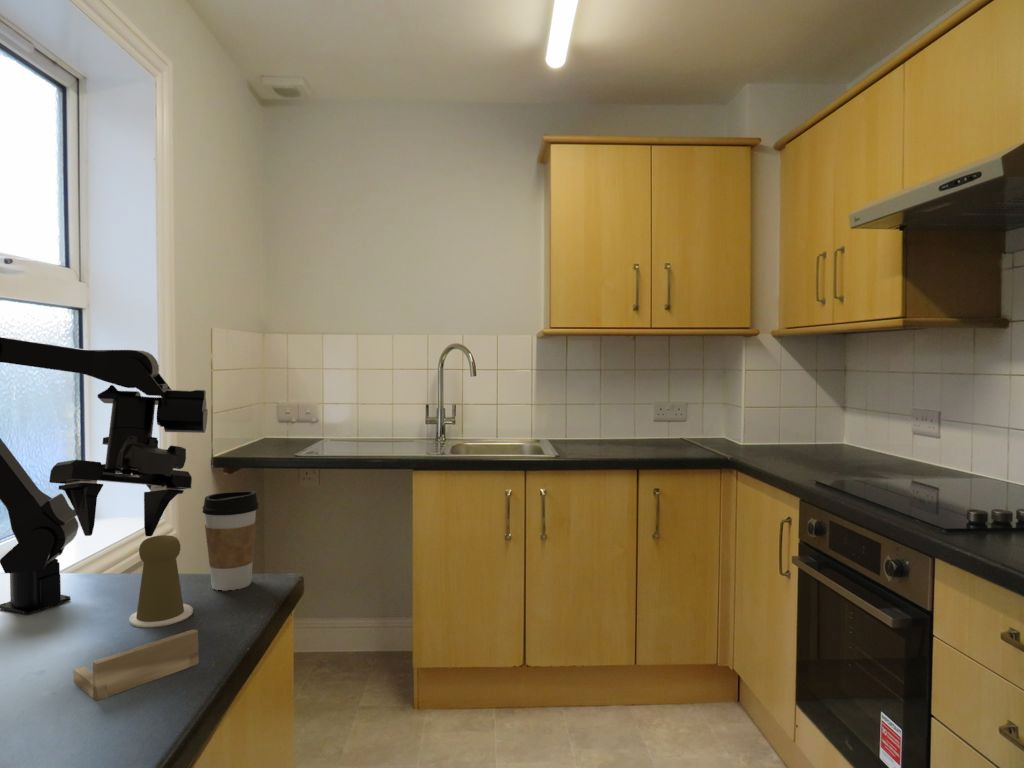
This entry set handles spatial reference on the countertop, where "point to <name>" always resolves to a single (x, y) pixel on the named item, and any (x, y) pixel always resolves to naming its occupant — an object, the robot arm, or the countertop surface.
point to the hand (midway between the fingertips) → (119, 536)
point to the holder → (138, 665)
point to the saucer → (187, 613)
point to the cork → (159, 580)
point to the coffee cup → (230, 538)
